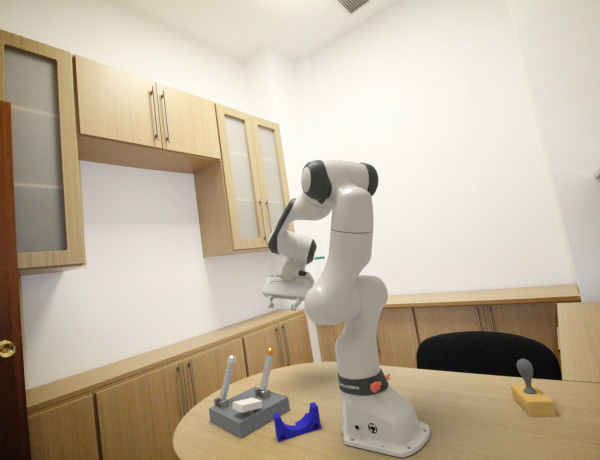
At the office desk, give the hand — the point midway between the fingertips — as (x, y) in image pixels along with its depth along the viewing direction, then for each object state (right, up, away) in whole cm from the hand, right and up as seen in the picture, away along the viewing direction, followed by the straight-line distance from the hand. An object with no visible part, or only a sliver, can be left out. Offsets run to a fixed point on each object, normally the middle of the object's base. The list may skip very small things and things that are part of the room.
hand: (281, 308), depth 115 cm
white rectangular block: (-9, -23, -22) cm, 33 cm away
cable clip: (+6, -27, -29) cm, 40 cm away
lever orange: (-5, -24, -12) cm, 28 cm away
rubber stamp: (+67, -17, -34) cm, 77 cm away
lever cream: (-18, -26, -15) cm, 35 cm away
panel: (-9, -30, -16) cm, 35 cm away
